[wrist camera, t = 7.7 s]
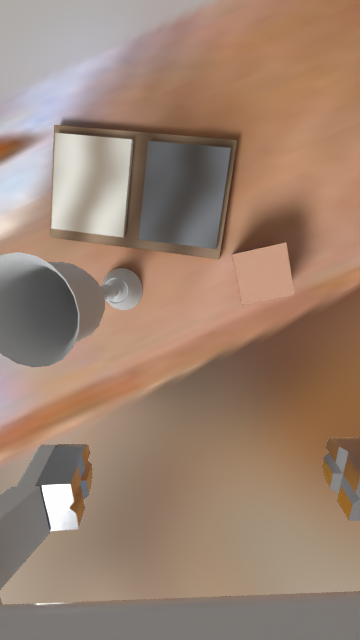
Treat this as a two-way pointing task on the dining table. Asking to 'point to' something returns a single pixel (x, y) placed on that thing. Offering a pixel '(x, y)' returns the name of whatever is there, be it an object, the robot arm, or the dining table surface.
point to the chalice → (54, 306)
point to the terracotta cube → (263, 274)
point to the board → (141, 189)
